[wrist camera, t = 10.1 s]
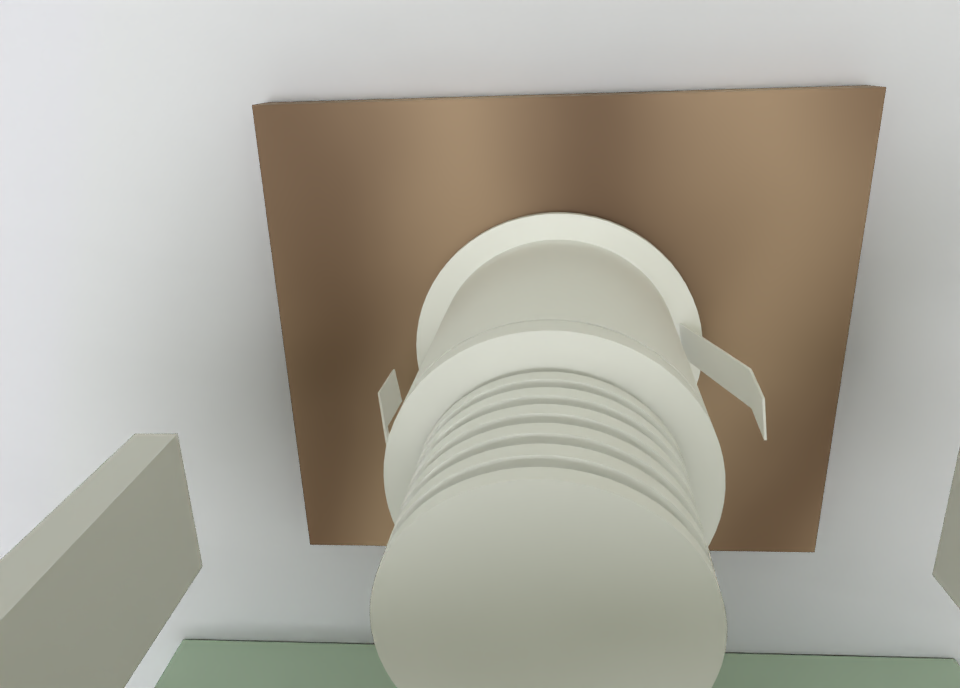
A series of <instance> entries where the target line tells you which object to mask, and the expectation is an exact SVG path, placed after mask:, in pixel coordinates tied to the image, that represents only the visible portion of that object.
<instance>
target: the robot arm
mask: <svg viewBox="0 0 960 688" xmlns="http://www.w3.org/2000/svg"><path fill="white" fill-rule="evenodd" d="M201 568H202V561H201V556H200V550H199V545H198V540H197V534H196V529H195V524H194V518H193V513H192V508H191V502H190V497H189V492H188V486H187V481H186V476H185V470H184V465H183V460H182V454H181V449H180V444H179V438H178V434H134V435H133V436H132V437H131V438H130V439H129V440H128V441H127V442H126V443H124V444H123V445H122V446H121V447H120V448H119V449H118V450H117V451H116V452H115V453H114V454H113V455H112V456H111V457H110V458H109V459H107V460H106V461H105V462H104V463H103V464H102V465H101V466H100V467H99V468H98V469H97V470H96V471H95V472H94V473H93V474H91V475H90V476H89V477H88V478H87V479H86V480H85V481H84V482H83V483H82V484H81V485H80V486H79V487H78V488H77V489H76V490H74V491H73V492H72V493H71V494H70V495H69V496H68V497H67V498H66V499H65V500H64V501H63V502H62V503H61V504H60V505H58V506H57V507H56V508H55V509H54V510H53V511H52V512H51V513H50V514H49V515H48V516H47V517H46V518H45V519H44V520H43V521H41V522H40V523H39V524H38V525H37V526H36V527H35V528H34V529H33V530H32V531H31V532H30V533H29V534H28V535H27V536H25V537H24V538H23V539H22V540H21V541H20V542H19V543H18V544H17V545H16V546H15V547H14V548H13V549H12V550H11V551H10V552H8V553H7V554H6V555H5V556H4V557H3V558H2V559H1V560H0V688H124V687H125V685H126V684H127V682H128V681H129V679H130V678H131V676H132V675H133V673H134V671H135V670H136V668H137V667H138V665H139V664H140V662H141V661H142V659H143V658H144V656H145V654H146V653H147V651H148V650H149V648H150V647H151V645H152V644H153V642H154V641H155V639H156V637H157V636H158V634H159V633H160V631H161V630H162V628H163V627H164V625H165V624H166V622H167V620H168V619H169V617H170V616H171V614H172V613H173V611H174V610H175V608H176V607H177V605H178V603H179V602H180V600H181V599H182V597H183V596H184V594H185V593H186V591H187V590H188V588H189V587H190V585H191V583H192V582H193V580H194V579H195V577H196V576H197V574H198V573H199V571H200V570H201ZM932 575H933V576H934V577H935V579H936V580H937V581H938V582H939V584H940V585H941V586H942V587H943V589H944V590H945V591H946V592H947V594H948V595H949V596H950V597H951V599H952V600H953V601H954V602H955V604H956V605H957V606H958V608H959V609H960V448H959V453H958V457H957V462H956V467H955V471H954V476H953V481H952V485H951V490H950V495H949V499H948V504H947V509H946V513H945V518H944V523H943V528H942V532H941V537H940V542H939V546H938V551H937V556H936V560H935V565H934V570H933V574H932Z"/></svg>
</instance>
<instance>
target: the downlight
mask: <svg viewBox="0 0 960 688" xmlns="http://www.w3.org/2000/svg"><path fill="white" fill-rule="evenodd" d="M416 349H417V361H418V367H419V371H418V373H417V375H416V377H415V379H414V381H413V383H412V385H411V388H410V390H409V392H408V394H407V396H406V398H405V400H404V402H403V404H402V407H401V409H400V411H399V413H398V415H397V417H396V419H395V421H394V423H393V426H392V429H391V431H390V434H389V430H388V425H389V423H390V422H391V420H392V418H393V416H394V415H395V413H396V411H397V409H398V407H399V406H400V404H401V402H402V399H401V394H400V390H399V386H398V381H397V377H396V373H395V369H393V370H392V371H391V373H390V375H389V376H388V378H387V379H386V381H385V382H384V384H383V385H382V387H381V389H380V390H379V392H378V398H379V404H380V410H381V416H382V423H383V429H384V435H385V441H386V450H385V458H384V488H385V494H386V499H387V504H388V507H389V511H390V514H391V517H392V520H393V522H394V524H395V525H394V528H393V530H392V533H391V535H390V538H389V541H388V544H387V546H386V549H385V553H384V555H383V557H382V560H381V562H380V565H379V568H378V571H377V573H376V576H375V580H374V583H373V587H372V592H371V599H370V623H371V631H372V635H373V640H374V644H375V647H376V650H377V653H378V656H379V658H380V660H381V662H382V664H383V666H384V668H385V670H386V672H387V673H388V675H389V677H390V678H391V680H392V682H393V683H394V684H395V686H396V687H397V688H712V686H713V684H714V682H715V680H716V678H717V676H718V674H719V671H720V668H721V666H722V663H723V659H724V655H725V650H726V642H727V620H726V612H725V607H724V603H723V599H722V595H721V592H720V588H719V584H718V581H717V577H716V574H715V570H714V566H713V563H712V559H711V555H710V552H709V548H708V546H709V544H710V542H711V540H712V538H713V536H714V534H715V532H716V529H717V527H718V524H719V521H720V518H721V514H722V509H723V505H724V498H725V468H724V460H723V455H722V451H721V447H720V444H719V441H718V438H717V436H716V433H715V430H714V428H713V425H712V423H711V420H710V418H709V415H708V413H707V410H706V407H705V405H704V402H703V399H702V397H701V394H700V391H699V389H698V386H697V382H698V379H699V375H700V370H701V371H702V372H703V373H705V374H706V375H707V376H709V377H710V378H711V379H713V380H714V381H715V382H717V383H718V384H719V385H721V386H722V387H724V388H725V389H726V390H728V391H729V392H730V393H732V394H733V395H734V396H736V397H737V398H738V399H740V400H741V401H742V402H744V403H745V404H746V405H748V406H749V407H750V408H751V409H752V411H753V414H754V416H755V419H756V421H757V424H758V426H759V429H760V431H761V434H762V436H763V439H764V440H767V433H766V412H765V397H764V395H763V393H762V391H761V389H760V386H759V384H758V382H757V380H756V378H755V375H754V373H753V371H752V369H751V368H749V367H748V366H746V365H745V364H743V363H742V362H740V361H739V360H737V359H736V358H734V357H733V356H731V355H730V354H728V353H727V352H725V351H723V350H722V349H720V348H719V347H717V346H716V345H714V344H713V343H711V342H710V341H708V340H707V339H705V338H704V337H702V330H701V323H700V319H699V315H698V311H697V308H696V305H695V303H694V300H693V297H692V295H691V293H690V291H689V289H688V287H687V285H686V283H685V282H684V280H683V278H682V277H681V275H680V274H679V272H678V271H677V270H676V268H675V267H674V266H673V265H672V263H671V262H670V261H669V260H668V259H667V258H666V257H665V256H664V255H663V254H662V253H661V252H660V251H659V250H658V249H657V248H656V247H655V246H653V245H652V244H651V243H650V242H649V241H647V240H646V239H644V238H643V237H641V236H640V235H638V234H637V233H635V232H633V231H631V230H629V229H627V228H626V227H624V226H621V225H619V224H616V223H614V222H612V221H609V220H606V219H602V218H599V217H596V216H591V215H585V214H580V213H569V212H548V213H538V214H532V215H527V216H522V217H518V218H515V219H512V220H509V221H506V222H503V223H501V224H499V225H496V226H494V227H492V228H490V229H488V230H486V231H485V232H483V233H481V234H480V235H478V236H477V237H475V238H474V239H472V240H471V241H469V242H468V243H467V244H466V245H464V246H463V247H462V248H461V249H460V250H459V251H458V252H457V253H456V254H455V255H454V256H453V257H452V258H451V259H450V260H449V261H448V262H447V263H446V265H445V266H444V267H443V269H442V270H441V271H440V273H439V274H438V276H437V277H436V279H435V281H434V282H433V284H432V286H431V288H430V290H429V292H428V294H427V296H426V299H425V301H424V304H423V307H422V310H421V314H420V318H419V322H418V329H417V342H416Z"/></svg>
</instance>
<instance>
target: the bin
mask: <svg viewBox="0 0 960 688" xmlns="http://www.w3.org/2000/svg"><path fill="white" fill-rule="evenodd" d="M154 688H397V687H396V686H395V684H394V683H393V682H392V680H391V678H390V677H389V675H388V673H387V672H386V670H385V668H384V666H383V664H382V662H381V660H380V658H379V656H378V653H377V650H376V647H375V644H336V643H296V642H256V641H216V640H183V641H182V642H181V644H180V646H179V647H178V649H177V651H176V652H175V654H174V656H173V657H172V659H171V661H170V662H169V664H168V666H167V667H166V669H165V671H164V672H163V674H162V676H161V677H160V679H159V681H158V682H157V684H156V686H155V687H154ZM712 688H960V666H959V665H958V663H957V662H956V660H955V659H935V658H895V657H855V656H815V655H775V654H736V653H725V655H724V659H723V663H722V666H721V668H720V671H719V674H718V676H717V678H716V680H715V682H714V684H713V686H712Z"/></svg>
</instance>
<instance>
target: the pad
mask: <svg viewBox="0 0 960 688" xmlns="http://www.w3.org/2000/svg"><path fill="white" fill-rule="evenodd" d="M885 92H886V87H879V86H868V85H862V86H827V87H792V88H757V89H722V90H687V91H652V92H617V93H583V94H548V95H513V96H478V97H443V98H408V99H373V100H338V101H303V102H268V103H261V104H256V105H252V109H253V116H254V124H255V131H256V139H257V147H258V154H259V162H260V169H261V177H262V184H263V192H264V199H265V207H266V214H267V222H268V229H269V237H270V245H271V252H272V260H273V267H274V275H275V282H276V290H277V297H278V305H279V312H280V320H281V328H282V335H283V343H284V350H285V358H286V365H287V373H288V380H289V388H290V395H291V403H292V411H293V418H294V426H295V433H296V441H297V448H298V456H299V463H300V471H301V478H302V486H303V493H304V501H305V509H306V516H307V524H308V531H309V539H310V545H375V546H387V544H388V541H389V538H390V535H391V533H392V530H393V528H394V525H395V524H394V522H393V520H392V517H391V514H390V511H389V507H388V504H387V499H386V494H385V488H384V458H385V450H386V441H385V435H384V429H383V423H382V416H381V410H380V404H379V398H378V392H379V390H380V389H381V387H382V385H383V384H384V382H385V381H386V379H387V378H388V376H389V375H390V373H391V371H392V370H393V369H395V373H396V377H397V381H398V386H399V390H400V394H401V399H402V402H401V404H400V406H399V407H398V409H397V411H396V413H395V415H394V416H393V418H392V420H391V422H390V423H389V425H388V430H389V434H390V431H391V429H392V426H393V423H394V421H395V419H396V417H397V415H398V413H399V411H400V409H401V407H402V404H403V402H404V400H405V398H406V396H407V394H408V392H409V390H410V388H411V385H412V383H413V381H414V379H415V377H416V375H417V373H418V371H419V367H418V361H417V349H416V342H417V329H418V322H419V318H420V314H421V310H422V307H423V304H424V301H425V299H426V296H427V294H428V292H429V290H430V288H431V286H432V284H433V282H434V281H435V279H436V277H437V276H438V274H439V273H440V271H441V270H442V269H443V267H444V266H445V265H446V263H447V262H448V261H449V260H450V259H451V258H452V257H453V256H454V255H455V254H456V253H457V252H458V251H459V250H460V249H461V248H462V247H463V246H464V245H466V244H467V243H468V242H469V241H471V240H472V239H474V238H475V237H477V236H478V235H480V234H481V233H483V232H485V231H486V230H488V229H490V228H492V227H494V226H496V225H499V224H501V223H503V222H506V221H509V220H512V219H515V218H518V217H522V216H527V215H532V214H538V213H548V212H569V213H580V214H585V215H591V216H596V217H599V218H602V219H606V220H609V221H612V222H614V223H616V224H619V225H621V226H624V227H626V228H627V229H629V230H631V231H633V232H635V233H637V234H638V235H640V236H641V237H643V238H644V239H646V240H647V241H649V242H650V243H651V244H652V245H653V246H655V247H656V248H657V249H658V250H659V251H660V252H661V253H662V254H663V255H664V256H665V257H666V258H667V259H668V260H669V261H670V262H671V263H672V265H673V266H674V267H675V268H676V270H677V271H678V272H679V274H680V275H681V277H682V278H683V280H684V282H685V283H686V285H687V287H688V289H689V291H690V293H691V295H692V297H693V300H694V303H695V305H696V308H697V311H698V315H699V319H700V323H701V330H702V337H704V338H705V339H707V340H708V341H710V342H711V343H713V344H714V345H716V346H717V347H719V348H720V349H722V350H723V351H725V352H727V353H728V354H730V355H731V356H733V357H734V358H736V359H737V360H739V361H740V362H742V363H743V364H745V365H746V366H748V367H749V368H751V369H752V371H753V373H754V375H755V378H756V380H757V382H758V384H759V386H760V389H761V391H762V393H763V395H764V397H765V412H766V433H767V440H764V439H763V436H762V434H761V431H760V429H759V426H758V424H757V421H756V419H755V416H754V414H753V411H752V409H751V408H750V407H749V406H748V405H746V404H745V403H744V402H742V401H741V400H740V399H738V398H737V397H736V396H734V395H733V394H732V393H730V392H729V391H728V390H726V389H725V388H724V387H722V386H721V385H719V384H718V383H717V382H715V381H714V380H713V379H711V378H710V377H709V376H707V375H706V374H705V373H703V372H702V371H701V370H700V375H699V379H698V382H697V386H698V389H699V391H700V394H701V397H702V399H703V402H704V405H705V407H706V410H707V413H708V415H709V418H710V420H711V423H712V425H713V428H714V430H715V433H716V436H717V438H718V441H719V444H720V447H721V451H722V455H723V460H724V468H725V498H724V505H723V509H722V514H721V518H720V521H719V524H718V527H717V529H716V532H715V534H714V536H713V538H712V540H711V542H710V544H709V546H708V548H709V551H767V552H815V545H816V539H817V532H818V526H819V519H820V513H821V506H822V500H823V493H824V487H825V480H826V474H827V467H828V461H829V454H830V448H831V442H832V435H833V429H834V422H835V416H836V409H837V403H838V396H839V390H840V383H841V377H842V370H843V364H844V357H845V351H846V344H847V338H848V331H849V325H850V318H851V312H852V305H853V299H854V292H855V286H856V279H857V273H858V267H859V260H860V254H861V247H862V241H863V234H864V228H865V221H866V215H867V208H868V202H869V195H870V189H871V182H872V176H873V169H874V163H875V156H876V150H877V143H878V137H879V130H880V124H881V117H882V111H883V104H884V98H885Z"/></svg>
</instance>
